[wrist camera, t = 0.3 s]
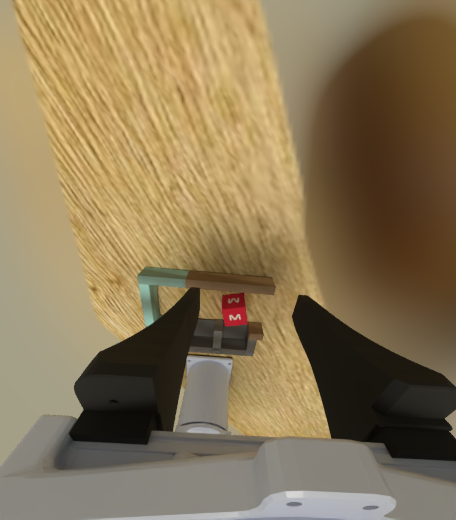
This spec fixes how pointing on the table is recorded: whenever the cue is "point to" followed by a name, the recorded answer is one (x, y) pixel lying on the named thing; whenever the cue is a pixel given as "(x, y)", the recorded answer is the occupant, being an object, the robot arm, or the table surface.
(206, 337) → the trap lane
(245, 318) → the red letter block
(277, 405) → the table surface
